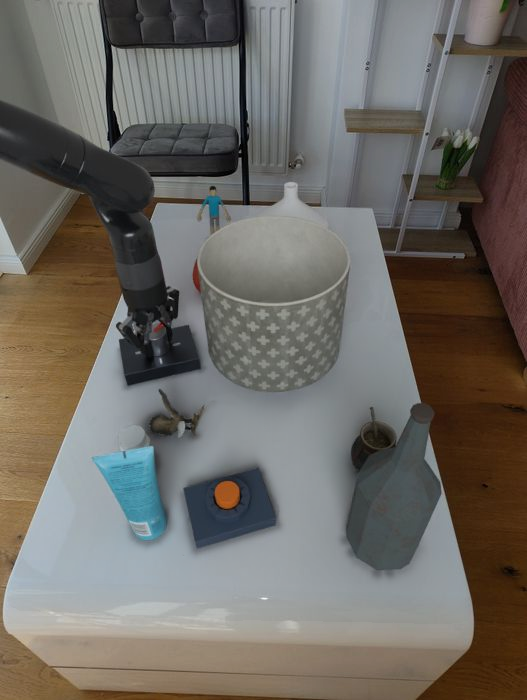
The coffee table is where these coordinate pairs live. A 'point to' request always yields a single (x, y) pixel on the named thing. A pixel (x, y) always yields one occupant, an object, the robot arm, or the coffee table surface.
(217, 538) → the button block
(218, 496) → the button
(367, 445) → the mate gourd
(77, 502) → the coffee table surface
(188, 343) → the dial panel
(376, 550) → the bottle
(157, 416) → the eagle figurine
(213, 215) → the figurine
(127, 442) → the pill bottle
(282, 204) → the vase
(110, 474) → the tube
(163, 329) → the program dial
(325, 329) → the planter
